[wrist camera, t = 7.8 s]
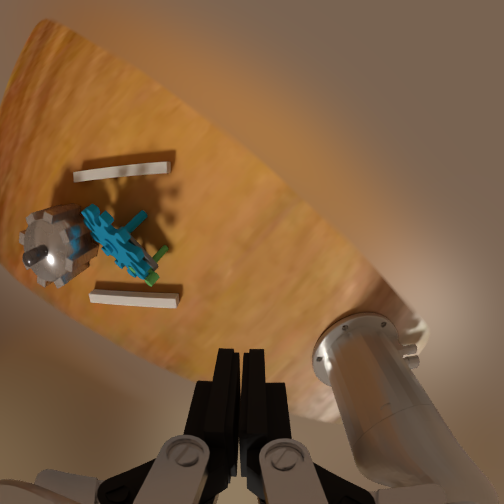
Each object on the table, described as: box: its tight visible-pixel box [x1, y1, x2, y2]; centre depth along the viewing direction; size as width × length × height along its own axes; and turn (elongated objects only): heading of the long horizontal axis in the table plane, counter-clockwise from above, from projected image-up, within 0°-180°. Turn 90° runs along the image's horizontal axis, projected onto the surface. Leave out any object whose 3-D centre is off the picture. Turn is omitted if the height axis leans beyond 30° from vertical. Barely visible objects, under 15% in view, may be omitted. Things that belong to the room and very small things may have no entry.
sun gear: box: [19, 203, 98, 289], centre depth 26 cm, size 9×9×9 cm
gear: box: [81, 204, 169, 287], centre depth 28 cm, size 11×6×10 cm
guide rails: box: [73, 162, 179, 308], centre depth 30 cm, size 12×16×2 cm
